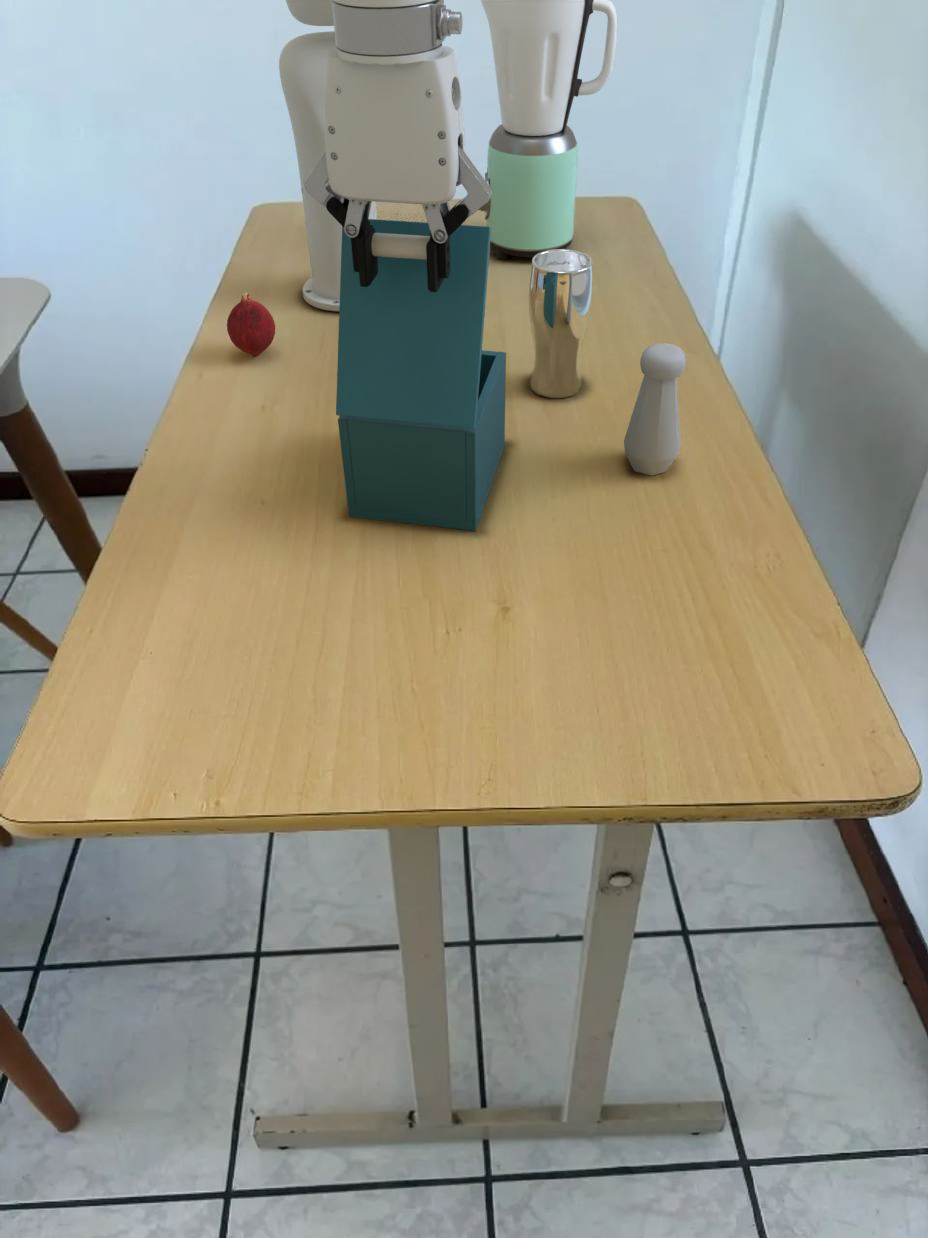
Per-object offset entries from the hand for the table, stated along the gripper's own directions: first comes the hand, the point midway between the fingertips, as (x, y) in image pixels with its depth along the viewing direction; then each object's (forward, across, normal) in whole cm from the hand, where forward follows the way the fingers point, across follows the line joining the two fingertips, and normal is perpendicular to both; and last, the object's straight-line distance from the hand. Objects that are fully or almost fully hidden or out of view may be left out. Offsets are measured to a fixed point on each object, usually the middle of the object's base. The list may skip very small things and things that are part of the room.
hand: (402, 280), depth 79 cm
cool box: (+24, 0, -6) cm, 24 cm away
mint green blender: (+24, -1, -70) cm, 74 cm away
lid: (+5, 0, -2) cm, 5 cm away
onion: (+24, +28, -29) cm, 47 cm away
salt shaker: (+24, -22, -13) cm, 35 cm away
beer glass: (+24, -10, -28) cm, 38 cm away
